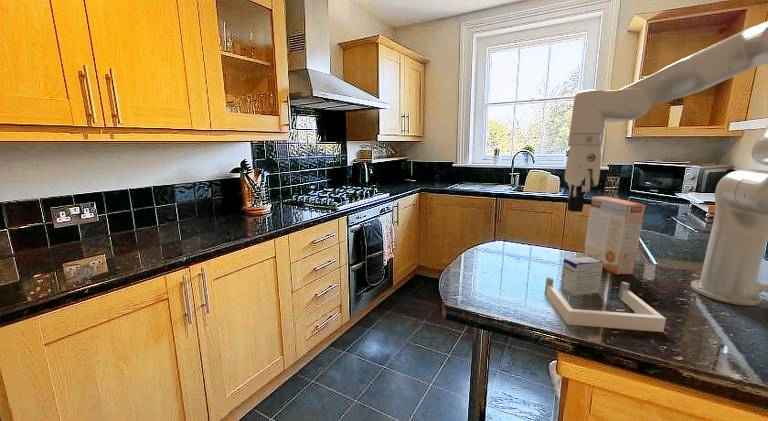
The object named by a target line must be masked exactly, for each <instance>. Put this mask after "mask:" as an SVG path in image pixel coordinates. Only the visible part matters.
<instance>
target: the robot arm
mask: <svg viewBox="0 0 768 421" xmlns="http://www.w3.org/2000/svg"><path fill="white" fill-rule="evenodd" d="M766 64H768V20H766V21H765V22H762V23H759V24H756V25H754V26H751V27H749V28H747V29H744V30H742V31H740V32H738V33H735V34H734V35H731V36H729V37H728V38H725V39H722V40H721V41H718V42H716V43H714V44H712V45H710V46H708V47H706V48H704V49H701V50H699V51H697V52H694V53H693V54H690V55H688V56H686V57H684V58H682V59H680V60H678V61H676V62H674V63H672V64H670V65H668V66H665V67H664V68H662V69H661V70H658V71H657V72H654V73H653V74H651V75H649V76H646V77H644V78H642V79H640V80H637V81H635V82H633V83H631V84H629V85H627V86H624V87H622V88H620V89H612V90H605V89H587V90H582V91H578V92H577V93H576V94H575V95H574V100H573V104H572V105H573V106H572V107H573V108H572V113H571V121H570V127H569V135H568V142H567V147H569V149H568V150H569V151H568V155H567V159H566V164H565V170H564V181H565V183H567V186H568V188H569V189H568V190H569V191H568V195H569V196H568V201H567V202H568V203H567V208H566V210H567V211H569V212H573V213H575V212H576V213H582V212H583V209H584V202H585V198H586V197H587V196H586V195H587V193H589V192H590V190H591V187H592V188H593V187H598V185H599V181H600V175H601V160H602V150H601V148H602V147H603V146H602V145H603V139H604V134H605V129H606V128H605V127H606V122H608V123H619V122H629V121H634V120H636V119H639V118H641V117H642V116H644V115H645V114H646V113H648V111H649V110H650V108H651V107H652V108H653V107H654V106H657V105H660V104H662V103H665V102H668V101H673V100H676V99H677V100H678V99H681V98H685V97H688V96H690V95H693V94H696V93H699V92H702V91H704V90H707V89H709V88H711V87H713V86H716V85H718V84H720V83H723V82H724V81H726V80H729V79H731V78H734V77H736V76H738V75H741V74H743V73H746V72H748V71H750V70H752V69H755V68H757V67H760V66H762V65H766ZM750 154H751V157H752V159H753V160H754V161H755V163H758V164H759V165H762V166H766V167H768V125H766V127H765V128H764V130H763V131H762V132H761V134H760V135H759V136H758V138H757V140H756V141H755V142H754V143H753V146H752V148H751V153H750ZM767 243H768V170H763V169H755V168H750V169H749V168H747V169H744V168H742V169H738V170H734V171H731V172H729V173H727V174H725V175H723V176H722V178H720V179H719V181H718V182H717V184H716V187H715V191H714V216H713V223H712V227H711V231H710V235H709V239H708V243H707V247H706V252H705V257H704V260H703V261H704V262H703V266H702V270H701V273H700V274H701V275H700V279H696V280H695V279H694V280H692V281H691V283H690V289H691V290H693V291H694V292H696V293H698V294H700V295H702V296H704V297H706V298H710V299H713V300H715V301H719V302H724V303H727V304H733V305H737V306H750V307H751V306H758V305H761V303H762V297H761V296H760V295H759V294H760V293H762V292H764V293H768V283H767V284H766V283H764V284H762V283H761V282H760V281H758V280H757V279H758V276H759V273H760V270H761V269H760V268H761V265H762V260H763V258H764V254H765V249H766V246H767Z"/></svg>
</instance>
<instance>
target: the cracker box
mask: <svg viewBox="0 0 768 421" xmlns="http://www.w3.org/2000/svg"><path fill="white" fill-rule="evenodd" d="M646 206H647V205H646V204H643V203H638V202H635V201H634V202H633V201H630V200H625V199H620V198H616V197H612V196H611V197H610V196H606V195H605V196H592V197H591V201H590V208H589V214H588V220H587V221H588V222H587V227H586V228H587V229H586V235H585V242H584V249H583V255H582V257H591V258H594V259H596V260H599V261H601V262H603V267H602V269H603V268H604V270H605V271H607V272H610V273H612V274H613V273H614V274H613V275H615V274H616V275H617V276H618V275H620V274H622V275H634V270H635V266H636V260H637V254H638V251H639V250H638V248H639V244H640V237H641V234H642V233H641V232H642V227H643V223H644V215H645V210H646ZM620 276H621V275H620Z"/></svg>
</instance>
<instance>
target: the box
mask: <svg viewBox="0 0 768 421" xmlns="http://www.w3.org/2000/svg"><path fill="white" fill-rule="evenodd" d="M602 267H603V262H601V261H599V260H596V259H594V258H591V257H583V256H581V257H573V258H572V257H571V258H563V262H562V269H561V270H562V272H561V281H560V290H562V291H563V292H565V293H567V294H568V295H570V296H572V297H576V296H577V297H578V296H585V295H592V294H593V293H594V294H599V292H600V285H601V280H602V278H601V277H602V272H603V268H602Z"/></svg>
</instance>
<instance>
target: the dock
mask: <svg viewBox="0 0 768 421" xmlns="http://www.w3.org/2000/svg"><path fill="white" fill-rule="evenodd" d="M630 286H631V285H630V283H629V282H626V281H621V282H620V287H619V294H618V298H619V299H620V300H619V299H618V300H619V301H621V300H622V301H623V302H624V303H625V304H627V305H628V306H629V307H630V308H631V309H632V310H633V311H634V312H633V311H632V310H631V309H630V308H629V307H628V306H627V307H628V308H629V309H630V310H631V311H632V312H633V313H630V312H619V311H606V310H595V309H594V310H592V309H579V308H572V306H571V304H569V302H568V301H567V300H566V299H565V298H564V296H563V295H562V294H561V293H560V292H559V290H558V289H557V288H556V287H555V286H554V278H553V277H549V276H547V277H546V280H545V288H544V294H545V296H546V297H547V299H548V300H549V301H550V303H551V304H552V305H553V307H554V309H556V311H557V313H558V314H559V315H560V317H561V318H562V319H563V321H564V322H565V324H566V325H572V326H573V325H574V326H584V327H585V326H586V327H597V328H608V329H621V330H632V331H644V332H647V331H648V332H658V333H663V332H664V329H665V324H666V321H667V318H666V317H665V316H663V315H662V314H660V313H659V312H658V311H657V310H655V309H654V308H653V307H651V306H650V305H649V304H648V303H646V302H645V301H644V300H643V299H642V298H640V297H638V296H637V295H636V294H635V293H633V291H631V290H630ZM622 301H621V302H622ZM623 302H622V303H623ZM624 303H623V304H624ZM625 304H624V305H625Z"/></svg>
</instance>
